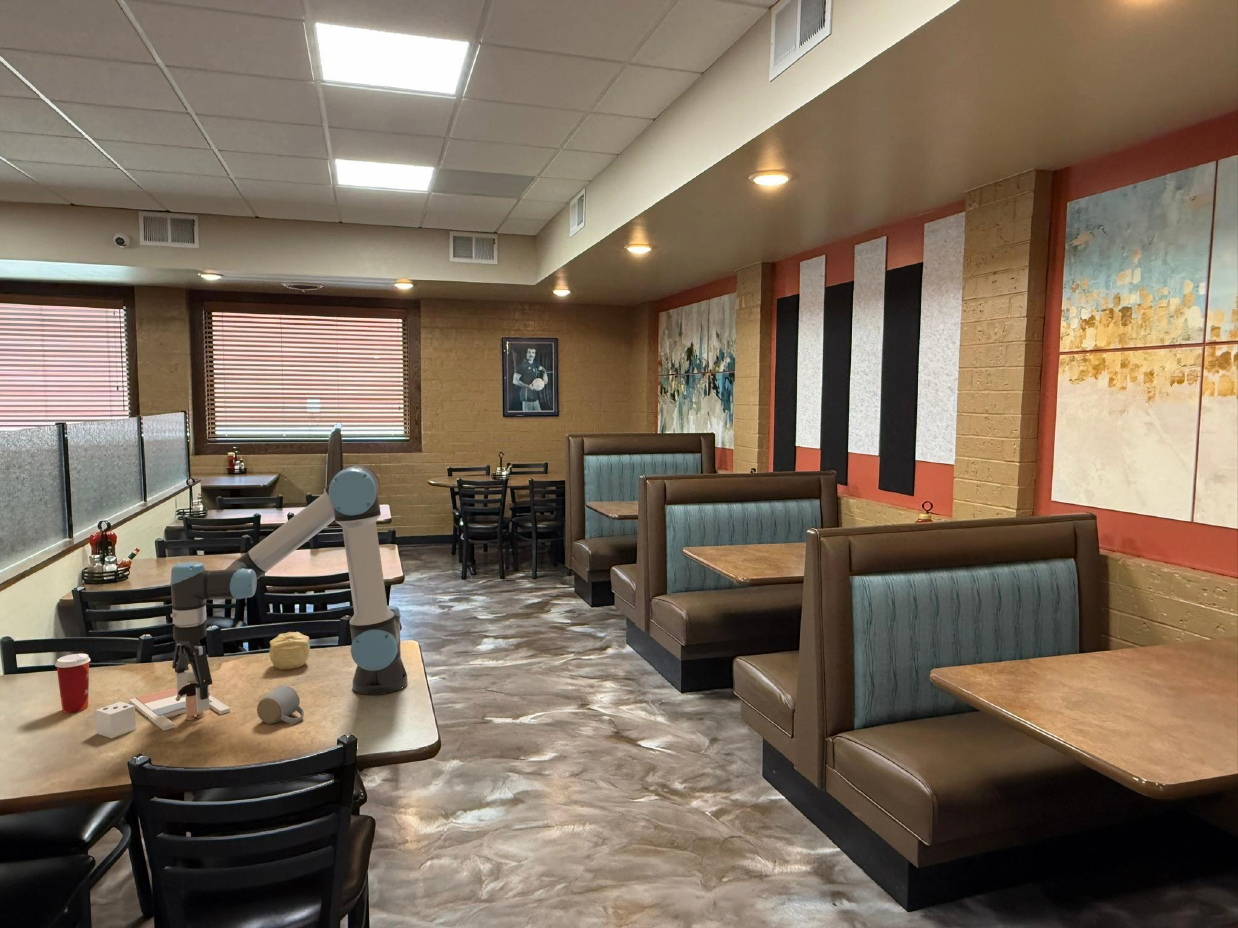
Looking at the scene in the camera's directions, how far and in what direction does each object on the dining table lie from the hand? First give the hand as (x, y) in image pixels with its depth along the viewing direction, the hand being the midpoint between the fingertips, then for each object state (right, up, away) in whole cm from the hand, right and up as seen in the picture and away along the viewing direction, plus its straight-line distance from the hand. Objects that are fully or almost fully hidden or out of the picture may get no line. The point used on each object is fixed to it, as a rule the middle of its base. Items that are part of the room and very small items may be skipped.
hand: (192, 703), depth 202 cm
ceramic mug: (+24, -4, 0) cm, 24 cm away
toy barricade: (-7, -3, +7) cm, 11 cm away
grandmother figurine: (0, -4, 0) cm, 4 cm away
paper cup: (-34, -3, +6) cm, 35 cm away
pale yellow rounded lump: (+9, -1, +40) cm, 41 cm away
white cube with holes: (-14, -4, -8) cm, 17 cm away
